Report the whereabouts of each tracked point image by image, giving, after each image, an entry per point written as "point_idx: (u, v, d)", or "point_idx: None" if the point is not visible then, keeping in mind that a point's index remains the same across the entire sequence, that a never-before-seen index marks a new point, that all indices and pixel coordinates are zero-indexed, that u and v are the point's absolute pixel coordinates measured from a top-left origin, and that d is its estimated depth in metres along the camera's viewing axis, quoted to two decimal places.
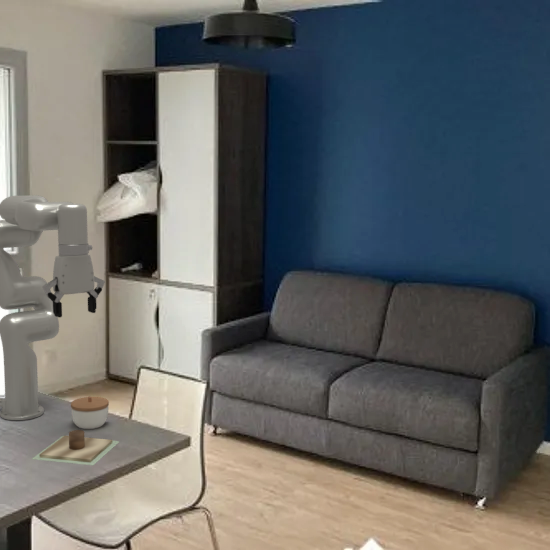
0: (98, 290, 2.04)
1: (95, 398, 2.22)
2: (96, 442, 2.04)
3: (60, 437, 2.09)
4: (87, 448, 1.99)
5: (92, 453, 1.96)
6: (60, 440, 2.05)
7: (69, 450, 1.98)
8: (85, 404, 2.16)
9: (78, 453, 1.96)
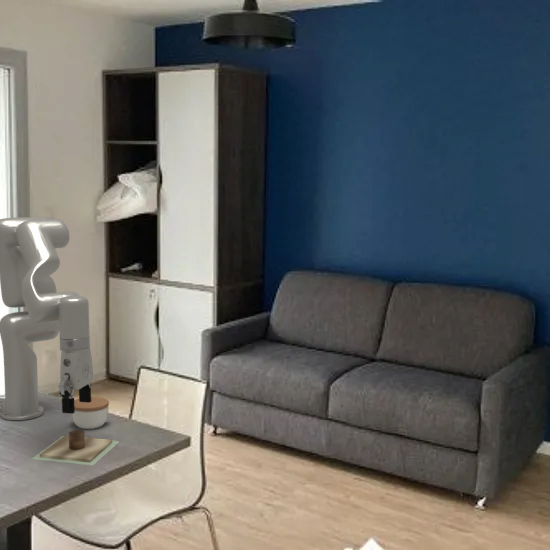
0: None
1: (95, 398, 2.22)
2: (96, 442, 2.04)
3: (60, 437, 2.09)
4: (87, 448, 1.99)
5: (92, 453, 1.96)
6: (60, 440, 2.05)
7: (69, 450, 1.98)
8: (85, 404, 2.16)
9: (78, 453, 1.96)
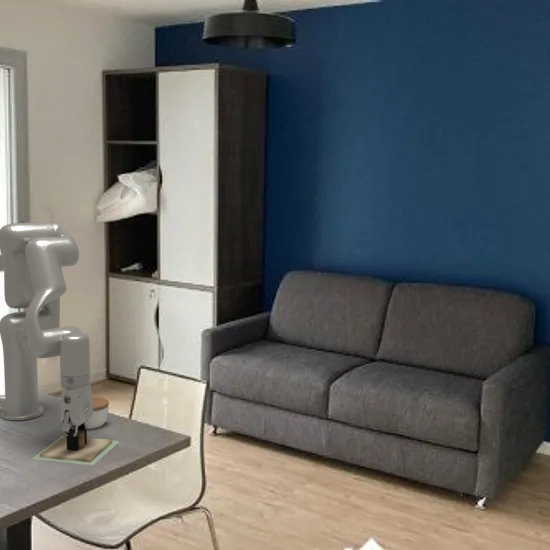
0: None
1: (95, 398, 2.22)
2: (96, 442, 2.04)
3: (60, 437, 2.09)
4: (87, 448, 1.99)
5: (92, 453, 1.96)
6: (60, 440, 2.05)
7: (69, 450, 1.98)
8: None
9: (78, 453, 1.96)
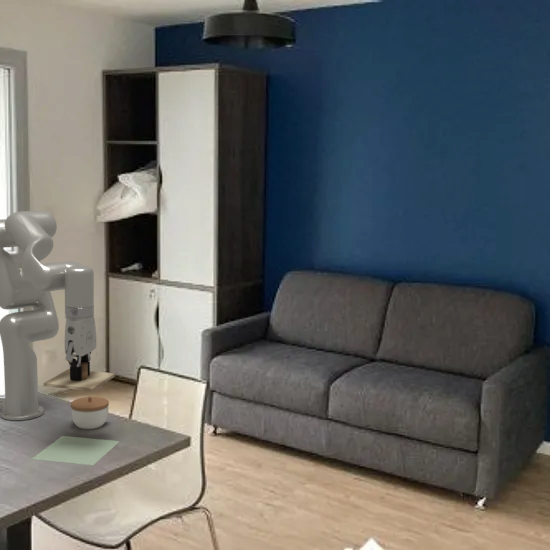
0: None
1: (95, 398, 2.22)
2: (99, 375, 2.09)
3: (60, 437, 2.09)
4: (90, 379, 2.04)
5: (94, 383, 2.01)
6: (64, 372, 2.10)
7: (73, 380, 2.03)
8: (85, 404, 2.16)
9: (80, 383, 2.01)
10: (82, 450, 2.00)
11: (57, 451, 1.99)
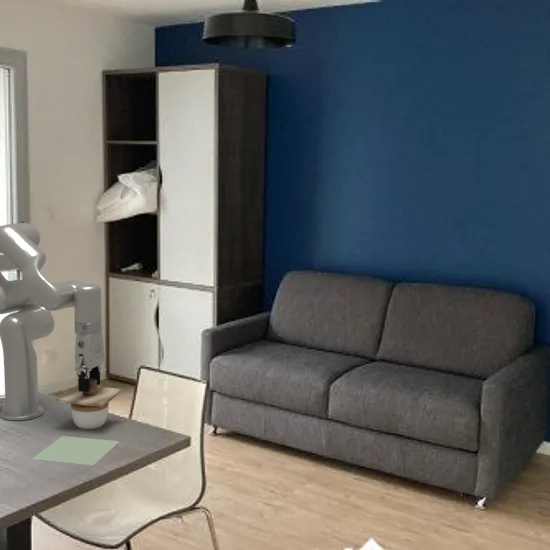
0: None
1: None
2: (107, 390, 2.22)
3: (60, 437, 2.09)
4: (99, 395, 2.18)
5: (104, 399, 2.14)
6: (74, 388, 2.23)
7: (83, 396, 2.16)
8: None
9: (90, 398, 2.14)
10: (82, 450, 2.00)
11: (57, 451, 1.99)
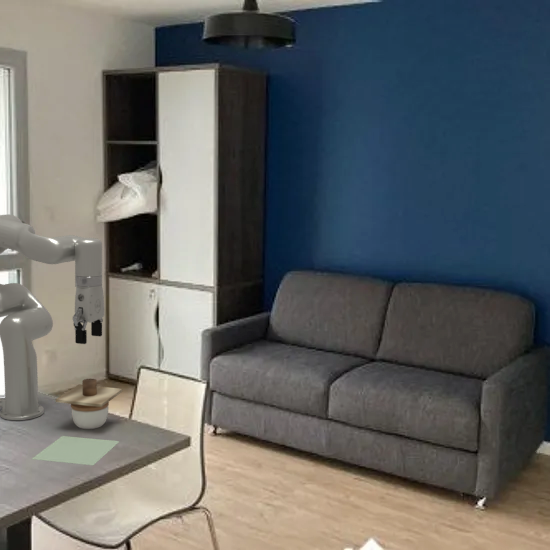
0: None
1: None
2: (107, 390, 2.22)
3: (60, 437, 2.09)
4: (99, 395, 2.17)
5: (103, 399, 2.14)
6: (74, 388, 2.23)
7: (83, 396, 2.16)
8: None
9: (90, 399, 2.14)
10: (82, 450, 2.00)
11: (57, 451, 1.99)
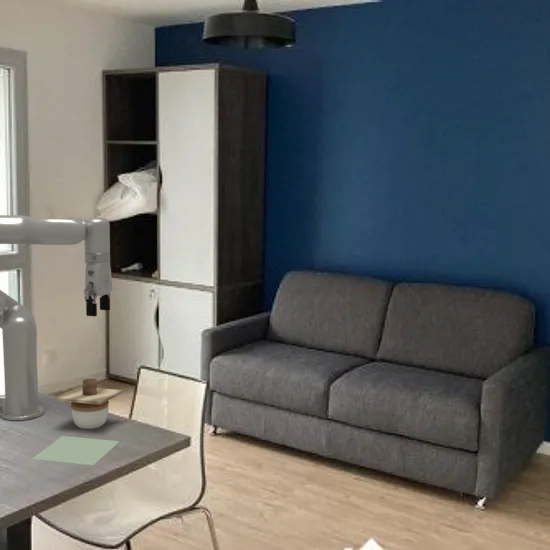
0: None
1: None
2: (108, 391, 2.22)
3: (60, 437, 2.09)
4: (99, 395, 2.17)
5: (102, 398, 2.14)
6: (75, 389, 2.23)
7: (83, 395, 2.16)
8: (85, 404, 2.16)
9: (89, 397, 2.14)
10: (82, 450, 2.00)
11: (57, 451, 1.99)
